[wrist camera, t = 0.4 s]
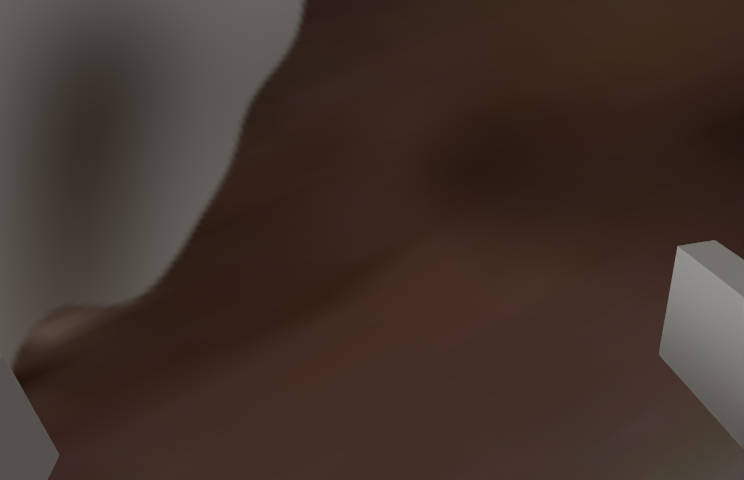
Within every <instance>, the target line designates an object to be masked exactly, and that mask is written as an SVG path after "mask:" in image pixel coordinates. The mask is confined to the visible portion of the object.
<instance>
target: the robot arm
mask: <svg viewBox="0 0 744 480" xmlns="http://www.w3.org/2000/svg"><path fill="white" fill-rule="evenodd" d="M659 355H660V356H661V357H662V358H663V359H664V361H665V362H666V363H667V364H668V365H669V366H670V367H671V368H672V370H673V371H674V372H675V373H676V374H677V375H678V376H679V377H680V379H681V380H682V381H683V382H684V383H685V384H686V385H687V386H688V387H689V389H690V390H691V391H692V392H693V393H694V394H695V395H696V396H697V398H698V399H699V400H700V401H701V402H702V403H703V404H704V405H705V406H706V408H707V409H708V410H709V411H710V412H711V413H712V414H713V415H714V417H715V418H716V419H717V420H718V421H719V422H720V423H721V424H722V426H723V427H724V428H725V429H726V430H727V431H728V432H729V433H730V434H731V436H732V437H733V438H734V439H735V440H736V441H737V442H738V443H739V445H740V446H741V447H742V448H743V449H744V260H743V259H742V258H740V257H739V256H737V255H736V254H734V253H733V252H731V251H730V250H728V249H727V248H726V247H724V246H723V245H721V244H720V243H718V242H717V241H715V240H713V241H707V242H700V243H694V244H688V245H681V246H678V247H677V253H676V259H675V264H674V270H673V276H672V282H671V287H670V293H669V299H668V305H667V311H666V316H665V322H664V328H663V334H662V339H661V345H660V351H659ZM58 457H59V453H58V452H57V450H56V448H55V446H54V445H53V443H52V441H51V439H50V437H49V436H48V434H47V432H46V430H45V429H44V427H43V425H42V423H41V421H40V420H39V418H38V416H37V414H36V413H35V411H34V409H33V407H32V406H31V404H30V402H29V400H28V398H27V397H26V395H25V393H24V391H23V390H22V388H21V386H20V384H19V383H18V381H17V379H16V377H15V375H14V374H13V372H12V370H11V368H10V367H9V365H8V363H7V361H6V360H5V358H4V356H3V354H0V480H47V479H48V477H49V475H50V473H51V471H52V469H53V467H54V465H55V463H56V461H57V459H58Z"/></svg>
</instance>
